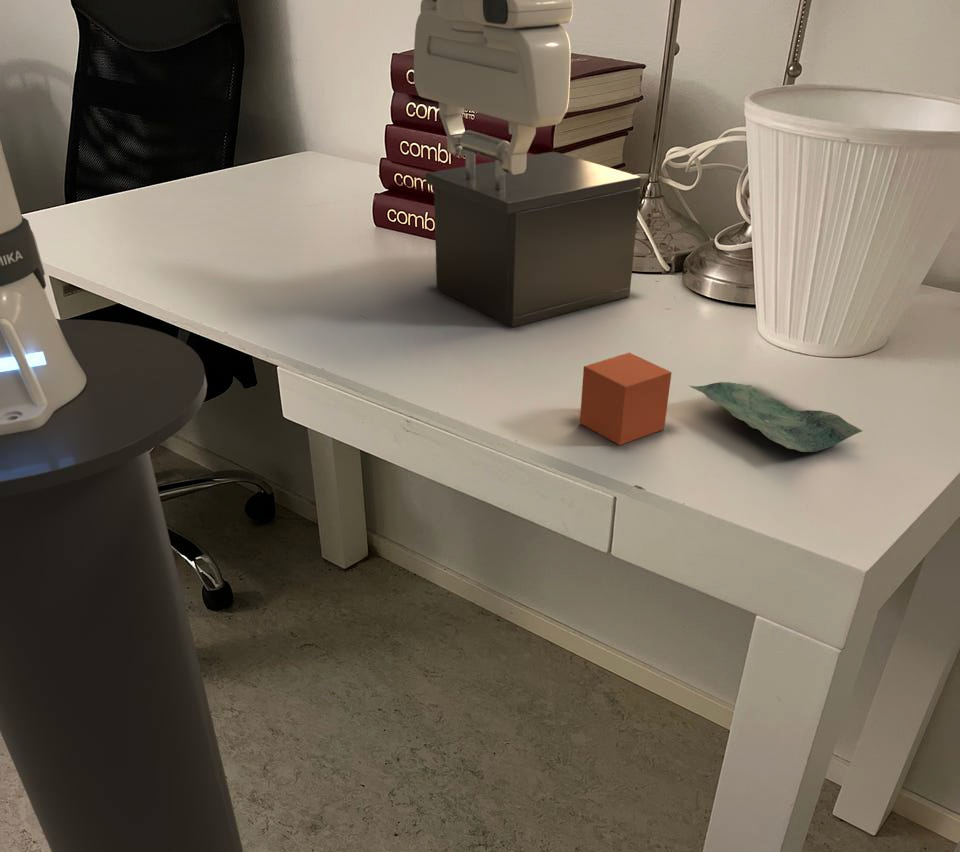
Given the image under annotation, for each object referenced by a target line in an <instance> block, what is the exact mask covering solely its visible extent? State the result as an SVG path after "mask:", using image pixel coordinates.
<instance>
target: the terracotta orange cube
mask: <svg viewBox="0 0 960 852" xmlns="http://www.w3.org/2000/svg"><path fill="white" fill-rule="evenodd" d="M582 371H583V372H582V385H581V386H582V387H581V399H580V400H581V401H580V415H579V424H580V425H582V426H584V427H585V428H587V429H590V430H591V431H593V432H595V433H597V434H598V435H600V436H602V437H604V438H606V439H608V440H609V441H611V442H613V443H614V444H616V445H618V446H621V445H625V444H627V443H630V442H633V441H635V440H638V439H641V438H643V437H647V436H650V435H653V434H655V433H658V432H661V431H664V430H665V426H666V419H667V410H668V404H669V403H668V402H669V396H670V395H669V394H670V389H671V380H672V371H670V370H668V369H666V368H664V367H662V366H659V365H657V364H655V363H652V362H651V361H648V360H646V359H644V358H642V357H640V356H638V355H635V354H633V353H632V352H626V353H623V354H620V355H616V356H613V357H609V358H606V359H604V360H600V361H596V362H594V363H590V364H587V365H584V366H583V370H582Z"/></svg>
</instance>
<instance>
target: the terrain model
mask: <svg viewBox="0 0 960 852" xmlns="http://www.w3.org/2000/svg"><path fill="white" fill-rule="evenodd" d="M687 386H688V387H690V388H692V389H693V390H696V391H697V392H700V393H702V394H704V395H705V396H706V397H707V398H708V399H709V400H710V401H713V402H714V403H715V404H718V405H720V406H722V407H724V409H726V410H727V411H728V412H729V413H730V414H731V415H732V416H733V417H735V418H736V419H738V420H740V421H744V422H745V423H746V425H748V426H749V427H751V428H752V429H757V430H758V431H760V432H761V433H762V434H763V435H764V436H765V437H766V438H767V439H769V440H771V441H773V442H774V443H776V444H779V445H781V446H783V447H785V448H786V449H789V450H796V451H798V452H802V453H809V452H812V453H813V452H815V453H816V452H819V451H823V450H825V449H828V448H831V447H833V446H835V445H837V444H839V443H841V442H844V441H845V440H847V439H849V438H851V437H852V436H854V435H856V434H859V433H862V432H863V430H862V429H861V428H858V427H857V426H855V425H853V424H851V423H849V421H846V420H845V419H844V418H842V416H839V415H838V414H835V413H833V412H829V411H824V410H813V409H812V410H811V409H810V410H809V409H806V410H796V409H793V408H790V407H788V405H786V404H785V403H783V402H782V401H780V400H778V399H775V398H773V397H770V396H766V395H765V394H763V393H762V392H761V391H759V390H757V389H756V388H755V387H754V386H753V385H751V384H743V383H737V382H730V381H728V382H725V381H719V382H714V383H713V382H712V383H708V384H706V385H699V386H698V385H697V386H694V385H688V384H687Z"/></svg>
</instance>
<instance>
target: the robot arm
mask: <svg viewBox="0 0 960 852" xmlns="http://www.w3.org/2000/svg"><path fill="white" fill-rule="evenodd" d="M573 1H574V0H421V1H420V13H419V15H418V17H417V19H416V23H415V29H414V42H413V43H414V45H413V46H414V47H413V48H414V49H413V83H414V84H413V85H414V87H415V89H416V92H417V94H418V96H419V97H421V98H423V99H427V100H430V101H434V102H438V115H439V117H440V120H441V123H442V125H443V129H444V131H445V134H446V145H447V147H446V148H447V149H446V150H447V152H448V154H450V155H453V156H457V157H462V156H466V150H464V149H463V148H462V147H461V144H460V138H461V135H462V134H463V132H465V131H466V130H465V125H464V121H463V116H462V114H464V113H465V110H467V111H470V112H474V113H479V114H481V115H486V116H488V117H489V116H490V117H493V118H496V119H500V120H503V121H506V122H508V134H509V135H512V136H511V139H510V142H509V144H510V145H509V149H508V151H505V152H502V161H503V164H502V169H503V171H505V172H507V173H510V174H513V175H515V174H521V173H524V172H525V170H526V156H527V153H528V152H529V149H530V147H531V145H532V143H533V140H534V139H535V136H536V133H537V128H542V127H543V128H544V127H549V126H556V125H558V124H560V123H561V122H562V120H563V119H564V117H565V115H566V113H567V111H568V107H569V102H570V101H569V100H570V85H571V43H570V42H571V41H570V38H569V37H570V36H569V35H568V32H567V30H566V28H565V27H564V26H562V25H565V24H568V23H571V21H572V17H573V13H574V2H573ZM42 261H43V260H42V258H41V254H40V250H39V247H38V243H37V240H36V236H35V235H34V231H33V230H32V228H31V225H30V223H29V220H28V219H27V218H26V217H24V216H23V215H22V212H21V209H20V205H19V202H18V198H17V195H16V191H15V187H14V184H13V181H12V177H11V173H10V170H9V166H8V162H7V158H6V155H5V152H4V148H3V144H2V141H1V139H0V435H6V434H11V433H17V432H23V431H28V430H33V429H36V428H39V427H41V426H42V425H44V424H45V423H46V422H47V421H48V419H49V418H50V417H51V415H52V414H53V412H54V411H55V410H57V409H58V408H60V407H61V406H63V405H65V404H66V403H68V402H69V401H71V400H72V399H74V398H75V397H76V396H77V395H78V394H79V393H80V392H81V391H82V390H83V389H84V387H85V385H86V381H87V378H86V375H85V373H84V371H83V370H82V368H81V367H80V365H79V364H78V362H77V360H76V358H75V357H74V355H73V353H72V351H71V349H70V347H69V346H68V344H67V342H66V340H65V338H64V335H63V333H62V331H61V329H60V327H59V325H58V322H57V320H58V319H57V317H56V315H55V313H54V311H53V308H52V306H51V302H50V300H49V298H48V294H47V292H46V288H47V287H46V286H47V284H46V283H47V282H46V279H45V275H46V274H45V269H44V266H43V265H44V264H43V262H42Z"/></svg>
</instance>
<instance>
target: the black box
mask: <svg viewBox="0 0 960 852" xmlns="http://www.w3.org/2000/svg"><path fill="white" fill-rule="evenodd" d="M640 193H641V187H639V188H634V189H629V190H624V191H619V192H614V193H609V194H604V195H599V196H594V197H589V198H584V199H579V200H574V201H569V202H564V203H559V204H554V205H549V206H544V207H539V208H534V209H529V210H524V211H519V212H514V213H509V214H506V213H504V212H501V211H498V210H496V209H493V208H490V207H488V206H485V205H482V204H480V203H477V202H474V201H472V200H469V199H466V198H464V197H461V196H459V195H456V194H453V193H451V192H448V191H445V190H443V189H440V188H437V187H435V186H433V200H434V201H433V202H434V204H433V205H434V235H435V236H434V237H435V238H434V239H435V272H436V273H435V275H436V279H435V280H436V291H439V292H441V293H443V294H445V295H447V296H449V297H451V298H453V299H455V300H457V301H459V302H460V303H463V304H465V305H466V306H468V307H471V308H473V309H475V310H476V311H479V312H481V313H482V314H485V315H487V316H489V317H491V318H493V319H496V320H497V321H499V322H501V323H502V324H505V325H507V326H509V327H511V328H516V327H520V326H524V325H527V324H532V323H535V322H538V321H543V320H545V319H550V318H554V317H557V316H560V315H564V314H569V313H571V312H572V313H573V312H576V311H580V310H583V309H587V308H590V307H594V306H595V307H596V306H599V305H601V304H606V303H609V302H613V301H617V300H620V299H624V298H629V297H630V295H631V285H632V276H633V265H634V256H635V246H636V235H637V227H638V225H637V224H638V215H639V206H640V205H639V204H640V195H641V194H640Z"/></svg>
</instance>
